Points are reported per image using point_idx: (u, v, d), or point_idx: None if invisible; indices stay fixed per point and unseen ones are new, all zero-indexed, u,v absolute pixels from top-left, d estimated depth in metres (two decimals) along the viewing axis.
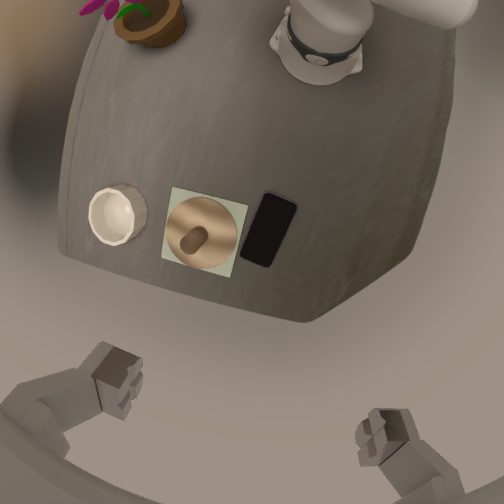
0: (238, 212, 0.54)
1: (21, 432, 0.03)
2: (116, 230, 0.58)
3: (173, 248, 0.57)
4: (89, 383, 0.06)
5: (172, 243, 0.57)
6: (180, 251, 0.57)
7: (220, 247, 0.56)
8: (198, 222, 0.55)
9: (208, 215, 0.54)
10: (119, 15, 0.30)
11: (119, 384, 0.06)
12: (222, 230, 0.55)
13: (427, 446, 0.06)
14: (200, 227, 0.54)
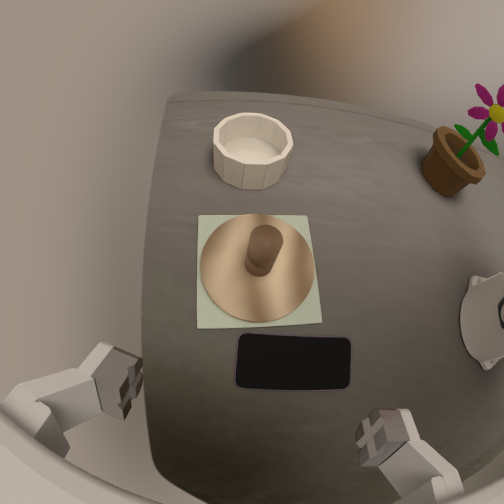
0: (308, 312, 0.35)
1: (21, 432, 0.03)
2: None
3: (222, 228, 0.37)
4: (89, 383, 0.06)
5: (230, 226, 0.38)
6: (221, 240, 0.37)
7: (249, 299, 0.34)
8: (277, 258, 0.36)
9: (292, 269, 0.36)
10: (458, 126, 0.39)
11: (119, 384, 0.06)
12: (277, 295, 0.34)
13: (427, 447, 0.06)
14: None
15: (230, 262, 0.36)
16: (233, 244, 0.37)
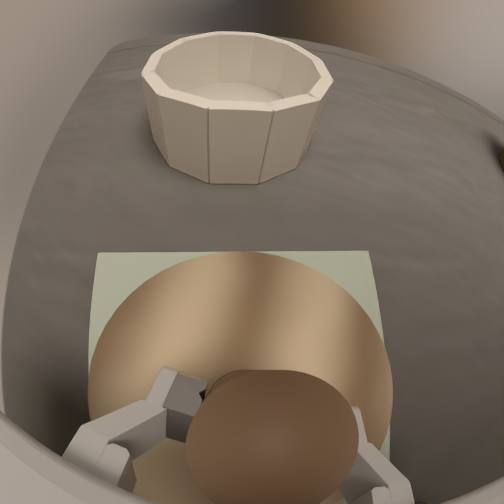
0: None
1: (21, 432, 0.03)
2: None
3: (143, 297, 0.12)
4: (161, 414, 0.06)
5: (164, 291, 0.12)
6: (139, 334, 0.12)
7: None
8: None
9: None
10: None
11: (195, 412, 0.06)
12: None
13: (375, 451, 0.06)
14: None
15: None
16: (171, 347, 0.11)
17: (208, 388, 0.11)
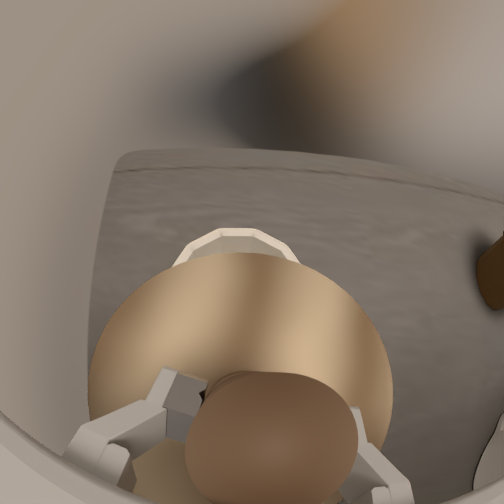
0: None
1: (21, 432, 0.03)
2: None
3: (142, 299, 0.12)
4: (161, 414, 0.06)
5: (164, 292, 0.12)
6: (139, 335, 0.12)
7: None
8: None
9: None
10: None
11: (195, 412, 0.06)
12: None
13: (375, 451, 0.06)
14: None
15: None
16: (171, 348, 0.11)
17: (208, 389, 0.11)
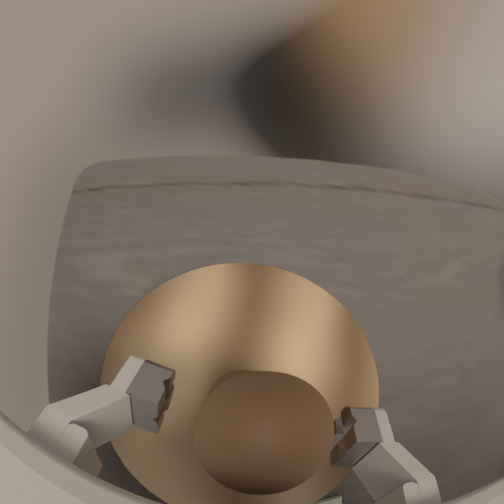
0: None
1: (21, 432, 0.03)
2: None
3: (150, 305, 0.14)
4: (124, 399, 0.06)
5: (170, 300, 0.14)
6: (147, 338, 0.13)
7: (219, 486, 0.10)
8: None
9: None
10: None
11: (157, 399, 0.06)
12: None
13: (402, 449, 0.06)
14: None
15: None
16: (177, 350, 0.13)
17: (210, 387, 0.12)
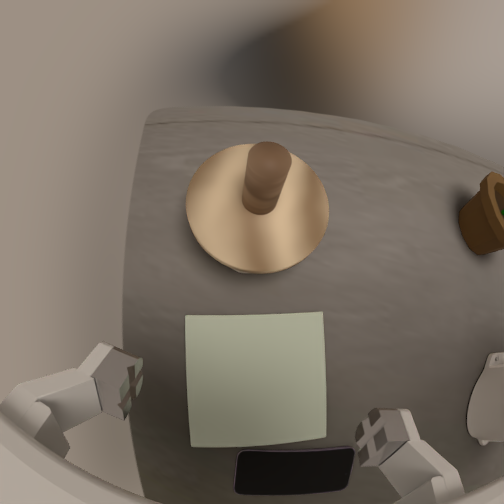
0: (312, 428, 0.27)
1: (21, 432, 0.03)
2: None
3: (215, 158, 0.29)
4: (89, 383, 0.06)
5: (225, 156, 0.29)
6: (214, 171, 0.29)
7: (245, 242, 0.27)
8: (282, 194, 0.29)
9: (301, 208, 0.28)
10: None
11: (119, 384, 0.06)
12: (283, 239, 0.27)
13: (427, 446, 0.06)
14: None
15: (223, 196, 0.28)
16: (228, 175, 0.29)
17: None
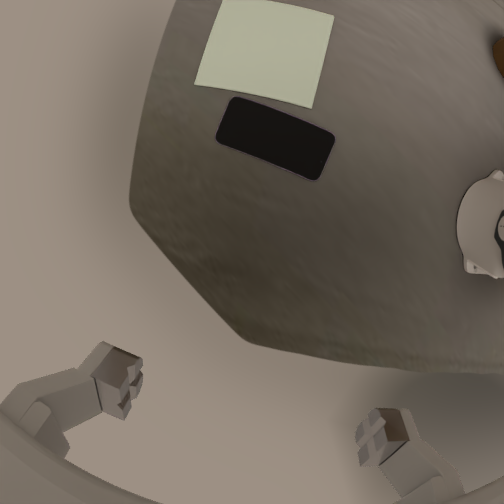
0: (300, 94, 0.31)
1: (21, 432, 0.03)
2: None
3: None
4: (89, 383, 0.06)
5: None
6: None
7: None
8: None
9: None
10: None
11: (119, 384, 0.06)
12: None
13: (427, 447, 0.06)
14: None
15: None
16: None
17: None
